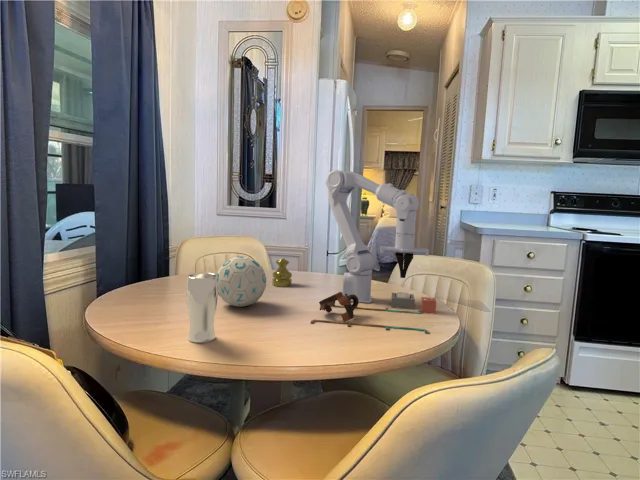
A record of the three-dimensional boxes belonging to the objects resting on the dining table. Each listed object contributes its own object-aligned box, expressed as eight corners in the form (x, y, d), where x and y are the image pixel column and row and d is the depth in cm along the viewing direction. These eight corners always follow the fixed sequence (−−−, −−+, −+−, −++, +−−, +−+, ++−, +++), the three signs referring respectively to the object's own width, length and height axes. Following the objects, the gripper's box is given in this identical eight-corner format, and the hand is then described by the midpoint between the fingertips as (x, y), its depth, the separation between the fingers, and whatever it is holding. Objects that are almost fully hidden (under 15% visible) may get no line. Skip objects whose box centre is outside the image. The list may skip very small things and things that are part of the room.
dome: (395, 304, 129) (396, 294, 129) (395, 300, 134) (396, 290, 133) (409, 305, 129) (410, 295, 128) (409, 301, 133) (409, 291, 133)
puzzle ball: (227, 297, 133) (228, 251, 131) (272, 301, 130) (273, 254, 128) (206, 310, 118) (206, 258, 116) (256, 314, 115) (257, 262, 114)
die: (421, 313, 124) (422, 299, 123) (420, 309, 128) (421, 296, 127) (435, 314, 123) (436, 300, 123) (433, 310, 127) (434, 297, 127)
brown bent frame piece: (338, 326, 109) (325, 298, 110) (322, 331, 117) (310, 305, 118) (370, 309, 116) (358, 283, 117) (353, 315, 124) (341, 290, 125)
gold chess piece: (280, 281, 159) (281, 256, 158) (295, 284, 155) (296, 258, 153) (267, 284, 153) (268, 258, 152) (282, 288, 149) (283, 261, 147)
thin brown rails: (310, 323, 109) (310, 322, 109) (321, 303, 130) (322, 302, 130) (428, 333, 105) (428, 332, 105) (421, 311, 125) (421, 310, 125)
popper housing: (391, 307, 128) (392, 297, 128) (391, 301, 135) (391, 292, 135) (414, 309, 127) (414, 299, 127) (412, 303, 134) (413, 294, 134)
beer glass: (190, 333, 98) (190, 272, 97) (219, 333, 99) (220, 272, 97) (183, 343, 92) (183, 278, 90) (214, 344, 92) (215, 279, 91)
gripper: (381, 233, 122) (379, 278, 123) (431, 236, 120) (428, 281, 121) (381, 231, 128) (378, 274, 130) (428, 233, 127) (425, 276, 128)
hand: (402, 277), depth 126 cm, fingers closed
